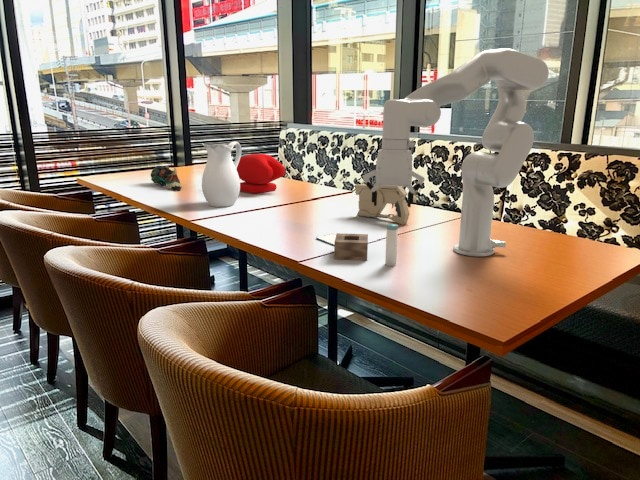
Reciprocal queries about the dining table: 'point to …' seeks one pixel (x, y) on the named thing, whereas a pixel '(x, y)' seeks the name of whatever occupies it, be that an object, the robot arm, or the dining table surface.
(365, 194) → the gun
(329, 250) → the dining table surface
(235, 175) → the pitcher
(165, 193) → the dining table surface
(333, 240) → the smartphone
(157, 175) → the sculpture
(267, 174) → the toy
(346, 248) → the socket block
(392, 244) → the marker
